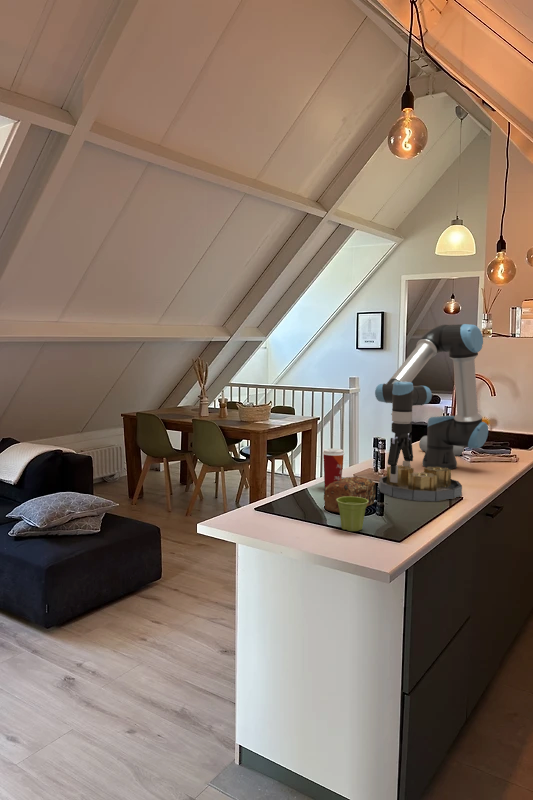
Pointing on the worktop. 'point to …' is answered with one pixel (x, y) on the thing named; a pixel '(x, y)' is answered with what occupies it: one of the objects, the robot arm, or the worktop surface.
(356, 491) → the bread
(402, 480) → the planet gear
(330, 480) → the coffee cup
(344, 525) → the plant pot
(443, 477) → the seated gear
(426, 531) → the worktop surface
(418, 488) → the seated gear
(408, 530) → the worktop surface
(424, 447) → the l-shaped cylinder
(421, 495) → the tray
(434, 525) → the worktop surface
